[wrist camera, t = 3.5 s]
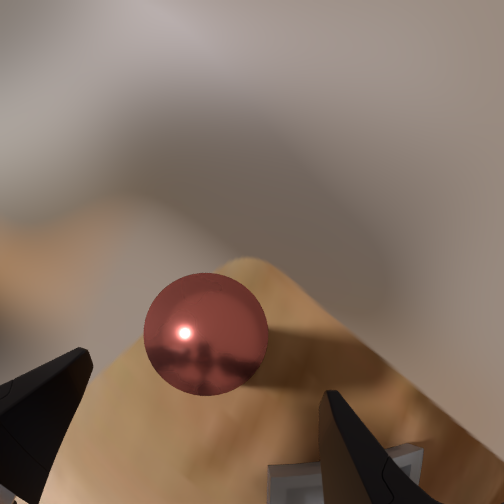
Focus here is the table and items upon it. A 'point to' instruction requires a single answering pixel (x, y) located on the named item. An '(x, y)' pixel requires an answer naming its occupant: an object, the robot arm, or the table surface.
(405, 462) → the tray
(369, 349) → the table surface
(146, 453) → the table surface
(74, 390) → the robot arm
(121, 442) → the table surface
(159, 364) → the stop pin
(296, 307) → the table surface
